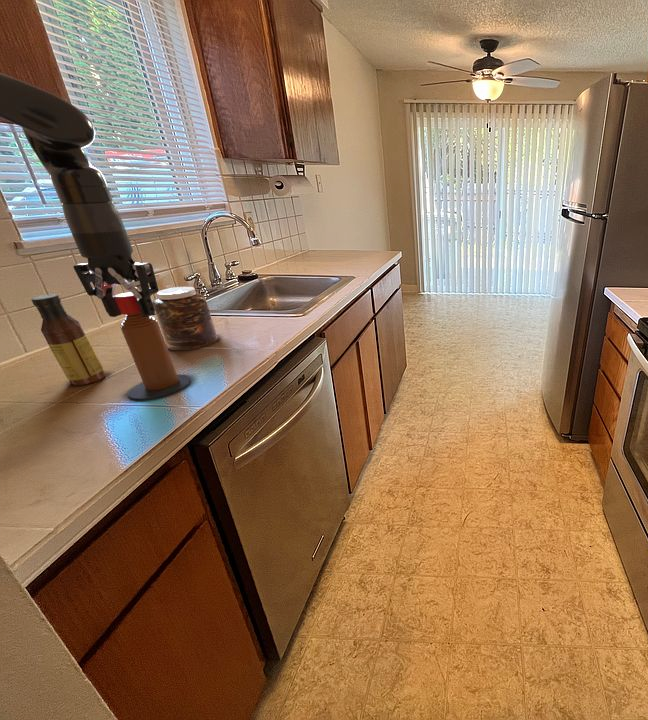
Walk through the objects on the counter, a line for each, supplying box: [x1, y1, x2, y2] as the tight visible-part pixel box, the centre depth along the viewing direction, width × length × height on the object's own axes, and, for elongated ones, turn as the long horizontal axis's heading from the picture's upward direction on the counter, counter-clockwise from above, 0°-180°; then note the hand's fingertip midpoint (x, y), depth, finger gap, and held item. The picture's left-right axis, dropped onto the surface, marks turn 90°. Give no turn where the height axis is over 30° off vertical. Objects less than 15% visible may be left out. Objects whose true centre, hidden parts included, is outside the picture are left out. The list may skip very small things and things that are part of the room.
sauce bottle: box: [30, 293, 106, 386], centre depth 87 cm, size 7×6×20 cm
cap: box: [114, 291, 141, 316], centre depth 80 cm, size 4×4×4 cm
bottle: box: [120, 313, 179, 390], centre depth 84 cm, size 6×6×20 cm
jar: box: [152, 286, 219, 351], centre depth 108 cm, size 12×12×15 cm
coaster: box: [127, 374, 192, 401], centre depth 87 cm, size 11×11×1 cm
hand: (132, 315), depth 80 cm, fingers open, 6 cm apart
